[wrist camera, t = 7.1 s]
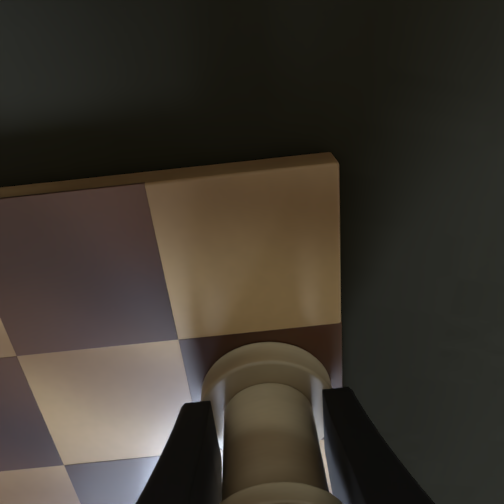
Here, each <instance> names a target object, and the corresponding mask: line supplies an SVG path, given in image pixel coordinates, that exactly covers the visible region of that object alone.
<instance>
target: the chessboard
mask: <svg viewBox="0 0 504 504" xmlns="http://www.w3.org/2000/svg"><path fill="white" fill-rule="evenodd" d="M258 342H280V343H286V344H290V345H294V346H297V347H299V348H301V349H303V350H305V351H307V352H309V353H310V354H312V355H313V356H314V357H315V358H317V359H318V360H319V361H320V362H321V363H322V365H323V366H324V368H325V369H326V371H327V373H328V375H329V378H330V381H331V385H332V388H341V387H342V322H341V261H340V173H339V163H338V161H337V160H336V159H335V157H334V156H333V154H332V153H330V152H325V153H316V154H307V155H297V156H288V157H279V158H269V159H260V160H251V161H242V162H232V163H223V164H214V165H205V166H195V167H186V168H177V169H168V170H158V171H149V172H140V173H130V174H121V175H112V176H103V177H93V178H84V179H75V180H66V181H56V182H47V183H38V184H29V185H19V186H10V187H1V188H0V504H135V503H136V502H137V500H138V498H139V496H140V495H141V493H142V491H143V489H144V487H145V485H146V483H147V481H148V479H149V478H150V476H151V474H152V472H153V470H154V468H155V466H156V464H157V462H158V460H159V458H160V456H161V454H162V451H163V449H164V447H165V445H166V443H167V441H168V438H169V436H170V434H171V432H172V429H173V427H174V424H175V422H176V420H177V417H178V414H179V412H180V409H181V407H182V406H183V405H184V404H185V403H190V402H200V401H201V390H202V385H203V381H204V379H205V376H206V374H207V373H208V371H209V370H210V368H211V367H212V366H213V365H214V364H215V362H217V361H218V360H219V359H220V358H221V357H222V356H224V355H225V354H227V353H228V352H230V351H232V350H234V349H236V348H239V347H241V346H244V345H248V344H252V343H258ZM319 444H320V449H321V454H322V459H323V464H324V469H325V473H326V478H327V483H328V488H329V493H331V494H332V489H331V483H330V478H329V472H328V466H327V461H326V455H325V449H324V437H323V438H322V439H321V440H320V441H319ZM220 453H221V458H222V468H223V450H222V449H221V448H220Z"/></svg>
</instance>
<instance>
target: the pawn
mask: <svg viewBox="0 0 504 504" xmlns="http://www.w3.org/2000/svg"><path fill="white" fill-rule="evenodd" d="M331 388H332V385H331V381H330V378H329V375H328V373H327V371H326V369H325V368H324V366H323V365H322V363H321V362H320V361H319V360H318V359H317V358H315V357H314V356H313V355H312V354H310V353H309V352H307V351H305V350H303V349H301V348H299V347H297V346H294V345H290V344H286V343H280V342H258V343H252V344H248V345H244V346H241V347H239V348H236V349H234V350H232V351H230V352H228V353H227V354H225V355H224V356H222V357H221V358H220V359H219V360H218V361H217V362H215V364H214V365H213V366H212V367H211V368H210V370H209V371H208V373H207V374H206V376H205V379H204V381H203V385H202V390H201V401H211V406H212V411H213V416H214V422H215V427H216V432H217V437H218V442H219V447H220V448H221V449H222V450H223V468H222V502H221V503H219V504H343V503H342V502H341V501H340V500H339V499H338V498H337V497H335V496H334V495H333V494H331V493H329V488H328V483H327V478H326V473H325V469H324V464H323V459H322V454H321V449H320V444H319V441H320V440H321V439H322V438H323V437H324V425H323V398H322V389H331Z"/></svg>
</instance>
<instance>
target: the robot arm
mask: <svg viewBox="0 0 504 504" xmlns="http://www.w3.org/2000/svg"><path fill="white" fill-rule="evenodd" d="M322 398H323V425H324V449H325V455H326V461H327V466H328V472H329V478H330V483H331V489H332V494H333V495H334V496H335V497H337V498H338V499H339V500H340V501H341V502H342V503H343V504H435V503H434V502H433V501H432V500H431V498H430V497H429V496H428V495H427V494H426V492H425V491H424V490H423V489H422V488H421V487H420V485H419V484H418V483H417V482H416V481H415V479H414V478H413V477H412V476H411V474H410V473H409V472H408V471H407V469H406V468H405V467H404V465H403V464H402V463H401V461H400V460H399V459H398V458H397V456H396V455H395V454H394V452H393V451H392V450H391V448H390V447H389V446H388V444H387V443H386V442H385V440H384V439H383V437H382V436H381V435H380V433H379V432H378V430H377V429H376V427H375V426H374V424H373V423H372V421H371V420H370V418H369V417H368V415H367V414H366V412H365V411H364V409H363V408H362V406H361V404H360V403H359V401H358V399H357V398H356V396H355V394H354V392H353V390H352V389H350V388H349V387H341V388H331V389H322ZM221 502H222V458H221V453H220V447H219V442H218V437H217V432H216V427H215V422H214V416H213V411H212V406H211V401H200V402H190V403H185V404H184V405H183V406H182V407H181V409H180V412H179V414H178V417H177V420H176V422H175V424H174V427H173V429H172V432H171V434H170V436H169V438H168V441H167V443H166V445H165V447H164V449H163V451H162V454H161V456H160V458H159V460H158V462H157V464H156V466H155V468H154V470H153V472H152V474H151V476H150V478H149V479H148V481H147V483H146V485H145V487H144V489H143V491H142V493H141V495H140V496H139V498H138V500H137V502H136V503H135V504H219V503H221Z"/></svg>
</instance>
